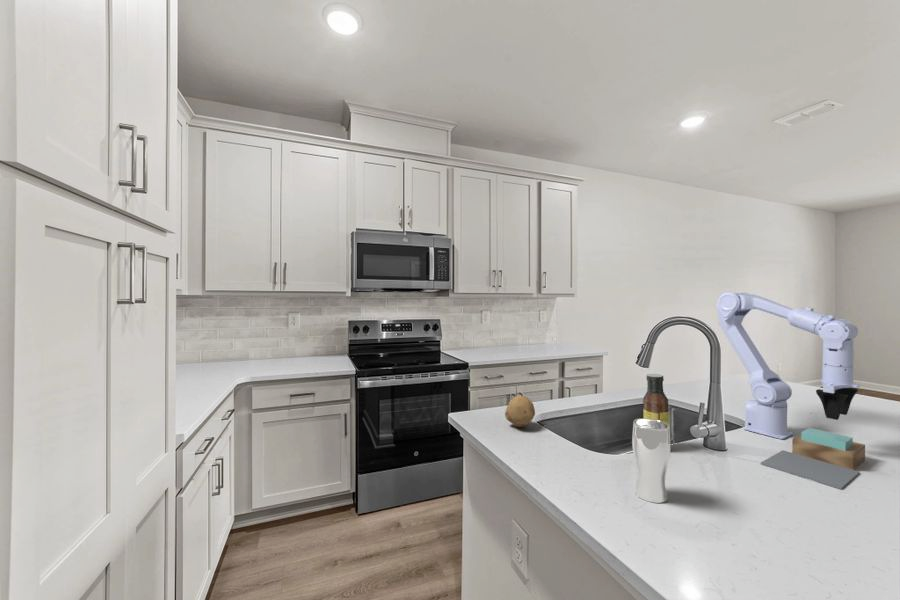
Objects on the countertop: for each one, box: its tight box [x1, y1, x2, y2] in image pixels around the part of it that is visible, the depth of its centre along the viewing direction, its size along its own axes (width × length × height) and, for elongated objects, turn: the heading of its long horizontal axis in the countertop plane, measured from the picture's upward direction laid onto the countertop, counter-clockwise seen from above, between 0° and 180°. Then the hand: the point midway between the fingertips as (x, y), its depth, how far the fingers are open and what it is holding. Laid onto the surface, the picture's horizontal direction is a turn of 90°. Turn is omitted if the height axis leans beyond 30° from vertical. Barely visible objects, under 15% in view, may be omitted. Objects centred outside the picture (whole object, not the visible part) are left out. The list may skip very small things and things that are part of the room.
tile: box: [800, 427, 854, 451], centre depth 95 cm, size 8×6×2 cm
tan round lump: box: [504, 395, 536, 428], centre depth 116 cm, size 9×9×10 cm
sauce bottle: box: [642, 373, 671, 433], centre depth 101 cm, size 6×6×20 cm
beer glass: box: [631, 418, 671, 504], centre depth 77 cm, size 7×7×15 cm
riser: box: [791, 433, 866, 470], centre depth 95 cm, size 11×10×4 cm
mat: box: [760, 450, 861, 490], centre depth 89 cm, size 14×14×1 cm
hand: (836, 416), depth 99 cm, fingers open, 7 cm apart
